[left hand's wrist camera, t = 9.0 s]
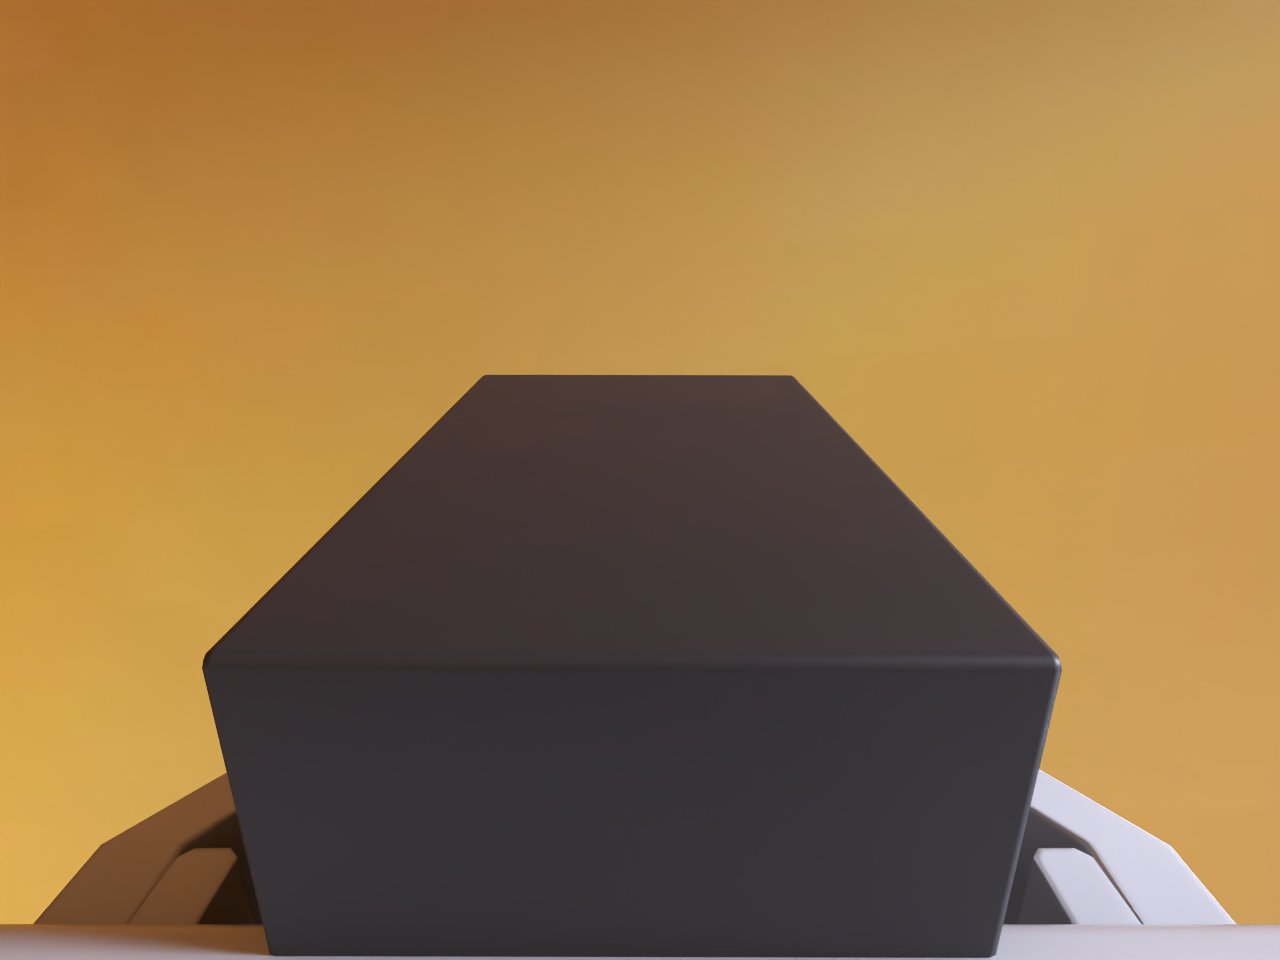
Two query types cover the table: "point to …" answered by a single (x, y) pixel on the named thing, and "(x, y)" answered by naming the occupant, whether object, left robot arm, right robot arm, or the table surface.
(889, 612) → the bar
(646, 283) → the table surface
